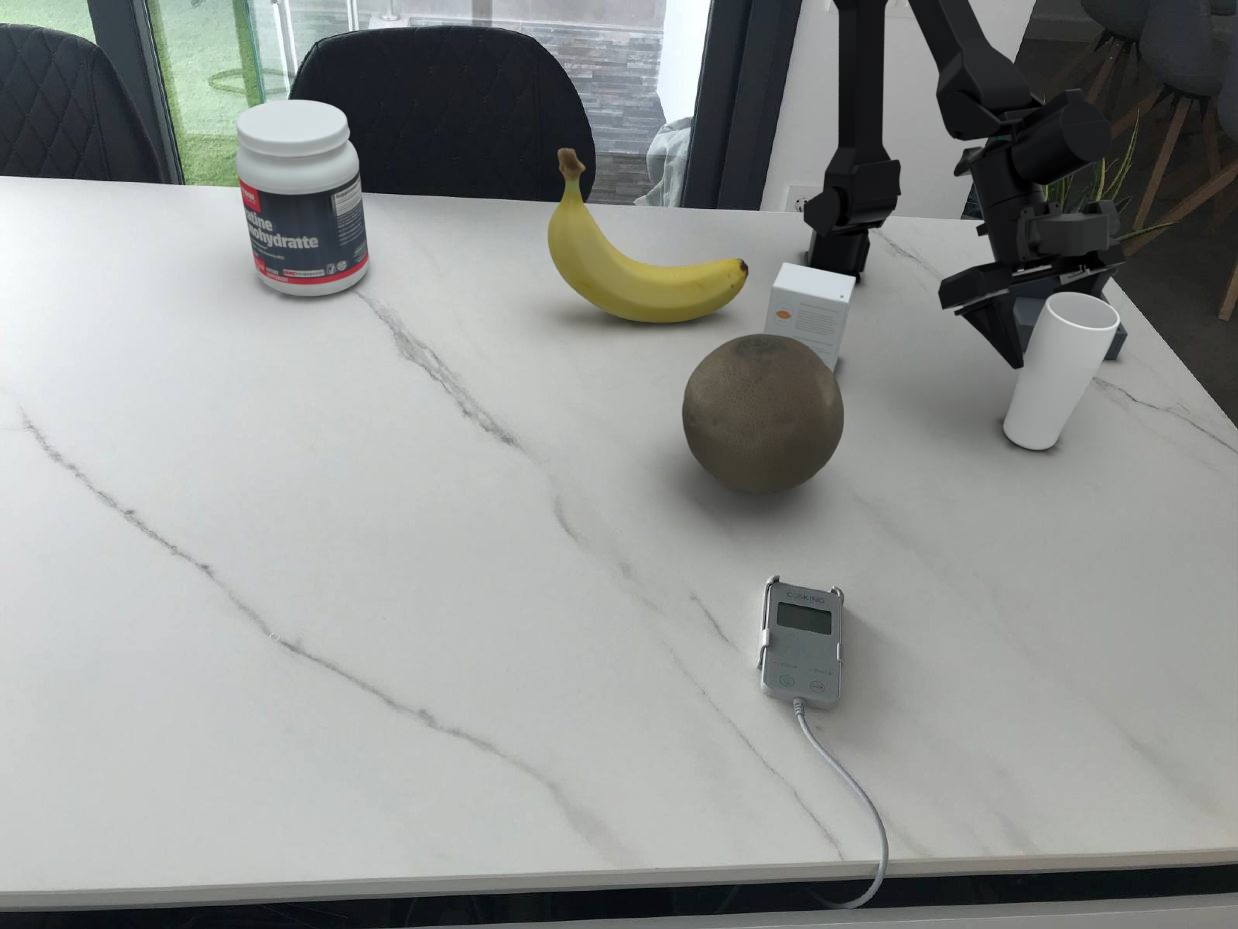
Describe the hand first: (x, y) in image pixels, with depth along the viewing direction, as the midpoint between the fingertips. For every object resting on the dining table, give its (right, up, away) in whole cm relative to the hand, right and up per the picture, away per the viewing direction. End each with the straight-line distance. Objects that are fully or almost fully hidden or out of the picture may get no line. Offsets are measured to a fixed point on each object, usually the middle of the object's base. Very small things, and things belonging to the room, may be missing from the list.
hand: (1055, 358), depth 94 cm
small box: (-23, +1, +13) cm, 26 cm away
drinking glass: (0, -7, +6) cm, 9 cm away
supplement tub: (-78, +12, +21) cm, 81 cm away
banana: (-39, +7, +18) cm, 44 cm away
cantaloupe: (-30, -12, -2) cm, 32 cm away
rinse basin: (+9, +6, +22) cm, 25 cm away
